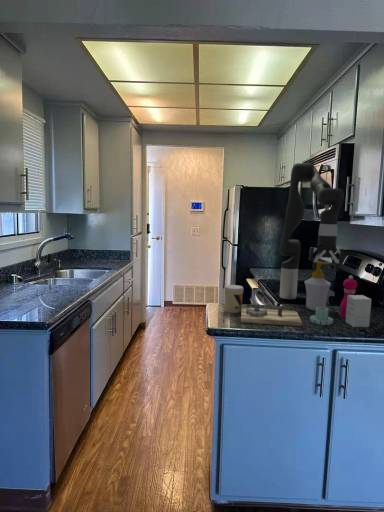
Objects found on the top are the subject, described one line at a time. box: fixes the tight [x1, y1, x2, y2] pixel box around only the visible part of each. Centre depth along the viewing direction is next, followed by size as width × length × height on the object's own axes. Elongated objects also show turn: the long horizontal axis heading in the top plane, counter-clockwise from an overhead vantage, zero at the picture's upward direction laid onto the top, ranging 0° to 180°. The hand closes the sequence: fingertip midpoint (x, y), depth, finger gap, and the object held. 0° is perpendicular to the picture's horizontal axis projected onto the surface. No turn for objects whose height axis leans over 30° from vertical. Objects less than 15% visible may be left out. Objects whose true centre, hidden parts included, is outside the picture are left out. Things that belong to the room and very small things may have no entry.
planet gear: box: [309, 307, 334, 326], centre depth 158 cm, size 10×10×6 cm
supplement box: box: [345, 294, 372, 328], centre depth 154 cm, size 7×7×13 cm
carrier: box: [240, 302, 303, 327], centre depth 160 cm, size 16×26×6 cm, turn 81°
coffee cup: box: [223, 284, 244, 314], centre depth 171 cm, size 9×9×12 cm
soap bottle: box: [304, 260, 332, 312], centre depth 176 cm, size 13×13×25 cm
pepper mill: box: [339, 275, 358, 319], centre depth 164 cm, size 7×7×20 cm
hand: (325, 271), depth 155 cm, fingers open, 8 cm apart
